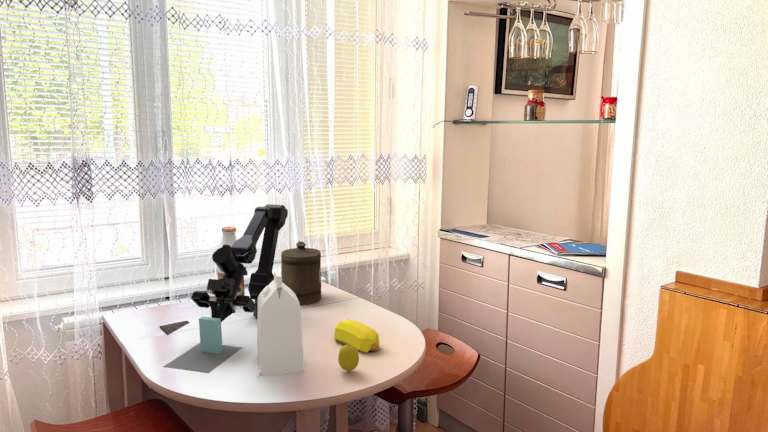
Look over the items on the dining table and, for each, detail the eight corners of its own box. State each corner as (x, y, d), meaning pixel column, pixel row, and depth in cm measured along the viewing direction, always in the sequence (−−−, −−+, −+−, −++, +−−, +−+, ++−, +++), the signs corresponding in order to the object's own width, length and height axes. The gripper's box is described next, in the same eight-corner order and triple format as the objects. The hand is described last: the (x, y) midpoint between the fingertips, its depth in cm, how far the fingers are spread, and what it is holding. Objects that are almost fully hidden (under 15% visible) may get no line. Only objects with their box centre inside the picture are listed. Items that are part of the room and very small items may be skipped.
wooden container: (329, 298, 220) (328, 241, 216) (299, 308, 209) (298, 248, 205) (303, 290, 229) (302, 236, 226) (273, 299, 218) (271, 242, 215)
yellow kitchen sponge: (347, 333, 185) (328, 340, 180) (347, 313, 184) (327, 319, 178) (386, 350, 172) (366, 357, 167) (386, 329, 171) (366, 335, 165)
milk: (304, 370, 157) (302, 278, 153) (260, 376, 154) (258, 281, 150) (297, 353, 169) (296, 266, 164) (257, 358, 165) (254, 269, 161)
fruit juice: (213, 301, 215) (210, 227, 210) (236, 296, 221) (233, 224, 216) (226, 307, 208) (223, 231, 203) (249, 302, 215) (247, 227, 210)
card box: (204, 348, 170) (202, 316, 168) (222, 351, 168) (220, 318, 166) (200, 351, 168) (198, 318, 166) (219, 353, 167) (217, 320, 165)
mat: (200, 344, 175) (200, 342, 175) (242, 349, 171) (242, 347, 171) (163, 368, 158) (163, 366, 158) (208, 375, 154) (208, 373, 154)
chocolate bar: (187, 320, 194) (207, 336, 180) (187, 323, 194) (207, 339, 180) (159, 326, 188) (178, 343, 174) (159, 328, 188) (178, 346, 175)
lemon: (338, 367, 159) (338, 340, 158) (358, 367, 160) (358, 339, 158) (338, 376, 154) (338, 348, 152) (359, 376, 154) (359, 347, 153)
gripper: (192, 264, 173) (171, 311, 164) (249, 269, 168) (231, 318, 159) (208, 283, 182) (189, 329, 173) (262, 288, 177) (246, 335, 168)
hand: (213, 327), depth 168 cm, fingers closed
